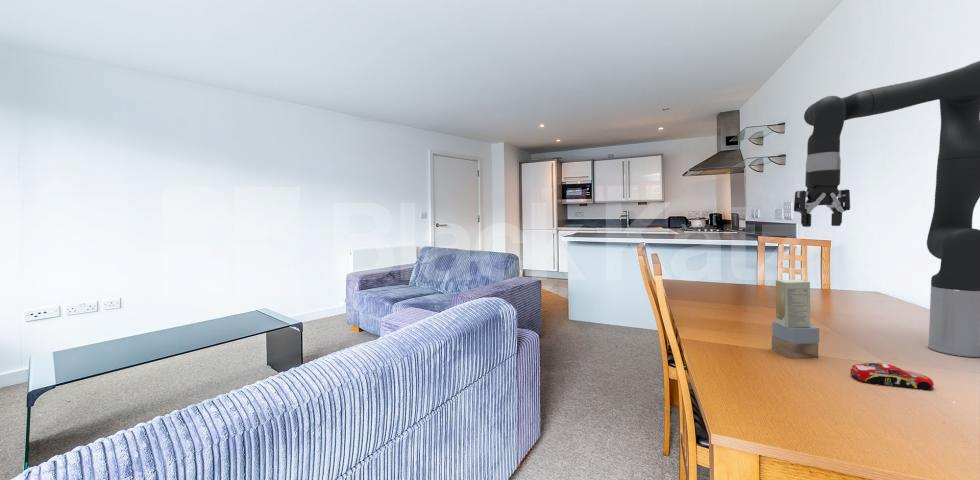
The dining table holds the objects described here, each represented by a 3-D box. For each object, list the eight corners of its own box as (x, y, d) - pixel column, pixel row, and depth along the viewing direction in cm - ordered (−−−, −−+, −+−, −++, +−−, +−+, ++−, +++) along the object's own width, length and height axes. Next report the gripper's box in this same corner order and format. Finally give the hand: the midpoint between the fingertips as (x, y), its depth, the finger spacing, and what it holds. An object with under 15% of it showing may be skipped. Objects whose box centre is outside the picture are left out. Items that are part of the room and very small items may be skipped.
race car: (923, 383, 84) (924, 365, 84) (940, 393, 79) (941, 375, 79) (846, 374, 89) (847, 357, 89) (858, 383, 84) (858, 366, 84)
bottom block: (797, 349, 106) (797, 335, 105) (818, 358, 99) (818, 343, 98) (771, 349, 106) (771, 335, 106) (790, 359, 99) (790, 344, 99)
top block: (796, 335, 106) (797, 321, 105) (818, 343, 99) (819, 328, 98) (772, 335, 106) (772, 321, 105) (792, 344, 99) (792, 329, 98)
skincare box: (800, 323, 103) (800, 279, 103) (811, 327, 99) (811, 281, 98) (774, 322, 104) (774, 279, 104) (784, 327, 100) (784, 281, 99)
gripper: (835, 171, 112) (833, 225, 113) (787, 172, 112) (786, 226, 113) (860, 167, 104) (858, 226, 105) (809, 168, 104) (807, 227, 105)
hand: (821, 226), depth 109 cm, fingers open, 8 cm apart
